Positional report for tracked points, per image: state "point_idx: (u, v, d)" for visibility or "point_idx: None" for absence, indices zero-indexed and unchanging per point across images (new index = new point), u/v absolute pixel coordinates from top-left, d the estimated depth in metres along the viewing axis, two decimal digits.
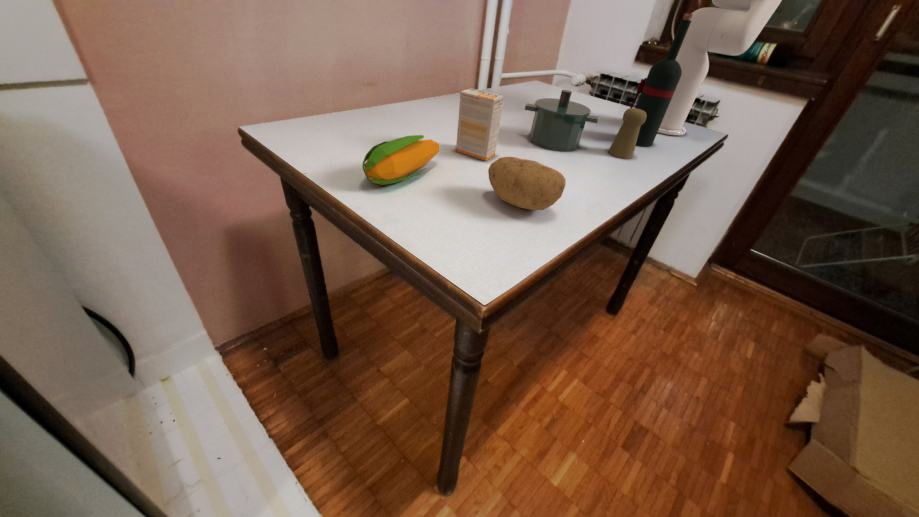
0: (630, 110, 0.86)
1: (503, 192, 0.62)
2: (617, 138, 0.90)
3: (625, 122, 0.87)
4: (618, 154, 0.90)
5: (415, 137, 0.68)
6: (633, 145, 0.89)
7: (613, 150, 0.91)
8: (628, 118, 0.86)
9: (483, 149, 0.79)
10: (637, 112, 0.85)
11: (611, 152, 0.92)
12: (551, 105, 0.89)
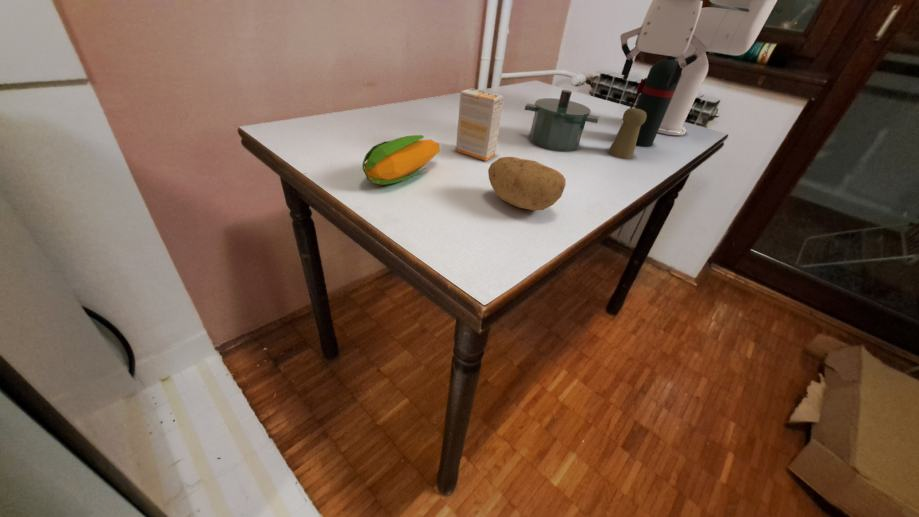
0: (630, 110, 0.86)
1: (503, 192, 0.62)
2: (617, 138, 0.90)
3: (625, 122, 0.87)
4: (618, 154, 0.90)
5: (415, 137, 0.68)
6: (633, 145, 0.89)
7: (613, 150, 0.91)
8: (628, 118, 0.86)
9: (483, 149, 0.79)
10: (637, 112, 0.85)
11: (611, 152, 0.92)
12: (551, 105, 0.89)
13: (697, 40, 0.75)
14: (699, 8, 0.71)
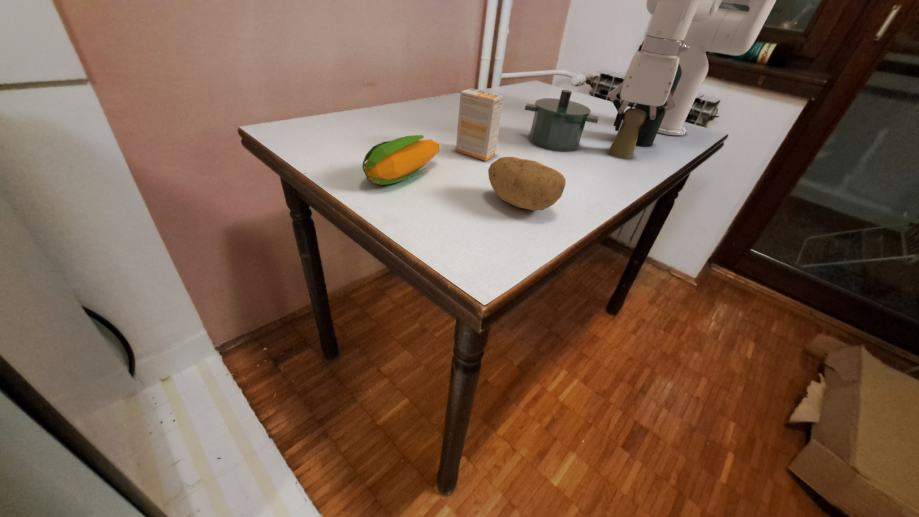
0: (630, 110, 0.86)
1: (503, 192, 0.62)
2: (617, 138, 0.90)
3: (625, 122, 0.87)
4: (618, 154, 0.90)
5: (415, 137, 0.68)
6: (633, 145, 0.89)
7: (613, 150, 0.91)
8: (628, 118, 0.86)
9: (483, 149, 0.79)
10: (637, 112, 0.85)
11: (611, 152, 0.92)
12: (551, 105, 0.89)
13: (670, 96, 0.82)
14: (676, 65, 0.77)
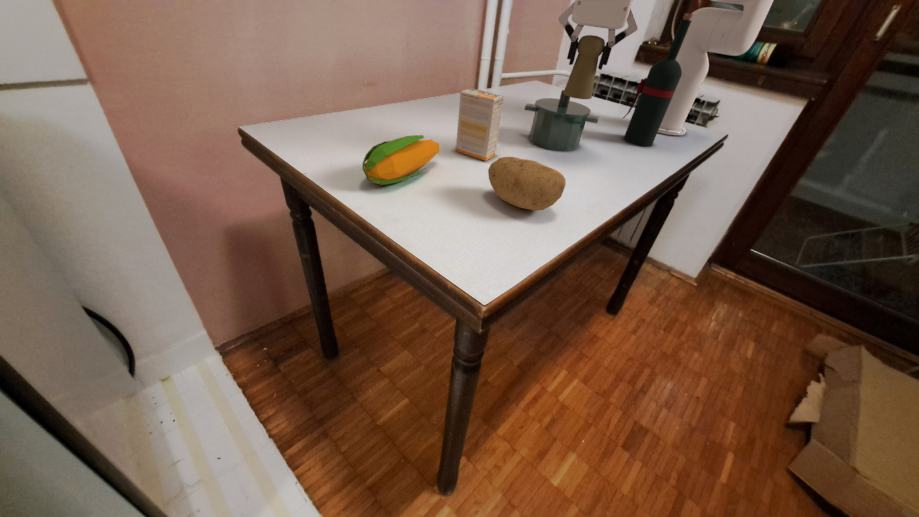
0: (585, 36, 0.71)
1: (503, 192, 0.62)
2: (572, 74, 0.75)
3: (580, 52, 0.72)
4: (573, 93, 0.76)
5: (415, 137, 0.68)
6: (590, 82, 0.74)
7: (567, 89, 0.76)
8: (582, 46, 0.71)
9: (483, 149, 0.79)
10: (593, 38, 0.70)
11: (566, 92, 0.77)
12: (551, 105, 0.89)
13: (631, 16, 0.67)
14: None
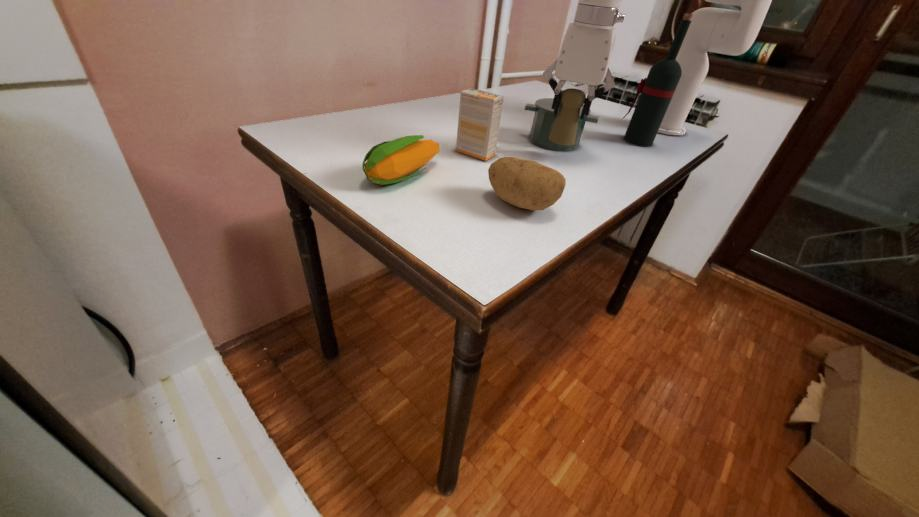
0: (567, 90, 0.77)
1: (503, 192, 0.62)
2: (556, 122, 0.81)
3: (563, 104, 0.78)
4: (557, 140, 0.81)
5: (415, 137, 0.68)
6: (573, 130, 0.80)
7: (552, 135, 0.82)
8: (565, 99, 0.77)
9: (483, 149, 0.79)
10: (574, 92, 0.76)
11: (550, 138, 0.83)
12: (551, 105, 0.89)
13: (609, 74, 0.73)
14: (611, 37, 0.69)
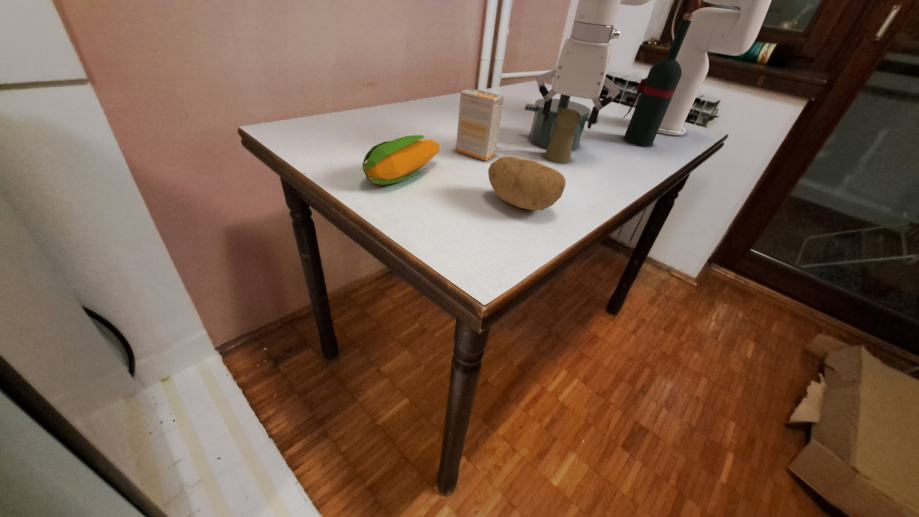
0: (562, 111, 0.79)
1: (503, 192, 0.62)
2: (551, 141, 0.83)
3: (558, 124, 0.81)
4: (553, 158, 0.84)
5: (415, 137, 0.68)
6: (568, 148, 0.83)
7: (548, 153, 0.85)
8: (560, 119, 0.79)
9: (483, 149, 0.79)
10: (569, 113, 0.78)
11: (546, 156, 0.85)
12: (551, 105, 0.89)
13: (610, 83, 0.74)
14: (607, 53, 0.70)
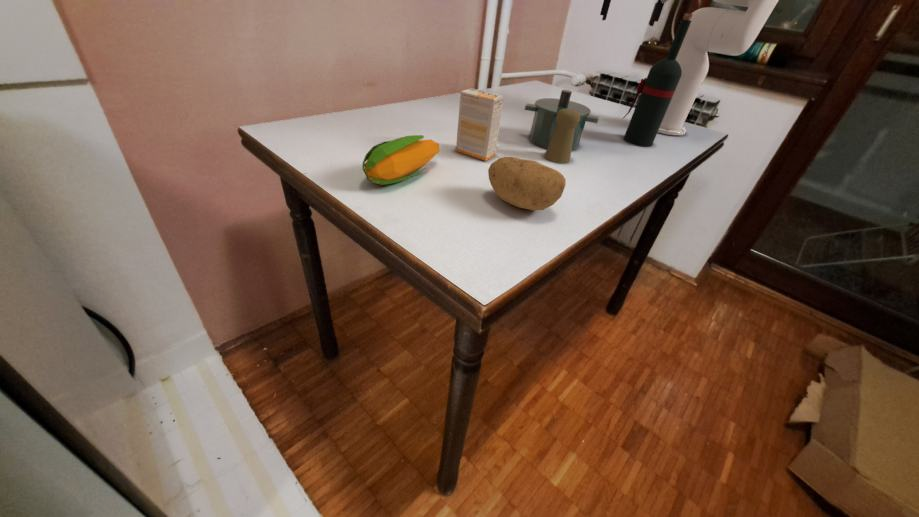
0: (562, 111, 0.79)
1: (503, 192, 0.62)
2: (551, 141, 0.83)
3: (558, 124, 0.81)
4: (553, 158, 0.84)
5: (415, 137, 0.68)
6: (568, 148, 0.83)
7: (548, 153, 0.85)
8: (560, 119, 0.79)
9: (483, 149, 0.79)
10: (569, 113, 0.78)
11: (546, 156, 0.85)
12: (551, 105, 0.89)
13: None
14: None
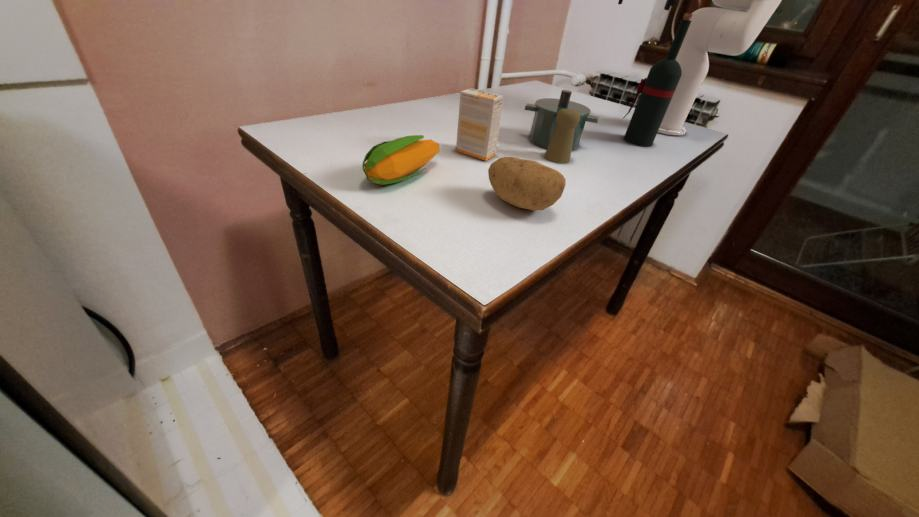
0: (562, 111, 0.79)
1: (503, 192, 0.62)
2: (551, 141, 0.83)
3: (558, 124, 0.81)
4: (553, 158, 0.84)
5: (415, 137, 0.68)
6: (568, 148, 0.83)
7: (548, 153, 0.85)
8: (560, 119, 0.79)
9: (483, 149, 0.79)
10: (569, 113, 0.78)
11: (546, 156, 0.85)
12: (551, 105, 0.89)
13: None
14: None
